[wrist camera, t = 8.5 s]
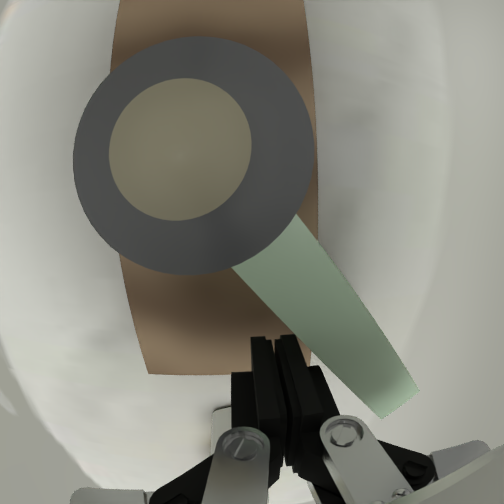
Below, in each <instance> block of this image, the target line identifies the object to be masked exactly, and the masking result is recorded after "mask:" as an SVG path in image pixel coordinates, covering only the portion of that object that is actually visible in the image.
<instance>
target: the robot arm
mask: <svg viewBox="0 0 504 504" xmlns="http://www.w3.org/2000/svg"><path fill="white" fill-rule="evenodd" d="M250 343H251V371H246V372H231V429H230V430H228V431H226V432H224V433H223V434H222V435H221V436H220V437H219V439H218V441H217V443H216V448H215V452H214V454H212V455H211V456H209V457H208V458H206V459H205V460H204V461H202V462H201V463H199V464H198V465H196V466H195V467H193V468H192V469H190V470H188V471H187V472H185V473H184V474H182V475H181V476H179V477H177V478H176V479H174V480H172V481H171V482H169V483H167V484H166V485H164V486H162V487H161V488H159V489H158V490H156V491H155V492H145V491H144V490H120V489H100V488H89V487H88V488H80V489H78V490H76V491H75V492H74V493H73V494H72V496H71V499H70V504H267V499H268V488H270V487H271V486H272V485H273V484H274V483H275V482H276V481H277V480H278V479H279V475H280V467H282V466H283V458H284V457H285V463H286V466H292V469H293V473H298V476H299V477H301V478H303V479H305V480H307V484H308V487H309V489H310V491H311V493H312V496H313V498H314V500H315V502H316V504H504V444H503V445H501V446H499V447H497V448H495V449H493V450H490V448H489V447H488V445H487V444H486V443H484V442H483V441H479V440H476V441H471V442H468V443H464V444H461V445H458V446H454V447H451V448H447V449H443V450H439V451H435V452H432V453H431V454H430V455H427V456H426V455H424V454H422V453H418V452H415V451H411V450H408V449H405V448H401V447H398V446H395V445H392V444H389V443H386V442H383V441H380V440H377V439H376V438H375V436H374V435H373V434H372V432H371V431H370V429H369V428H368V427H367V425H366V424H365V423H364V422H363V421H362V420H360V419H359V418H357V417H354V416H350V415H340V413H339V411H338V408H337V406H336V404H335V401H334V399H333V396H332V394H331V391H330V389H329V387H328V384H327V382H326V380H325V377H324V375H323V372H322V370H321V368H320V366H318V365H316V366H308V367H307V364H306V362H305V359H304V356H303V353H302V351H301V348H300V345H299V342H298V340H297V337H296V335H295V334H287V335H280V339H275V342H274V350H273V345H272V341H271V339H270V340H266V337H265V336H257V337H250Z"/></svg>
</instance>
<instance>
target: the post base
mask: <svg viewBox="0 0 504 504" xmlns="http://www.w3.org/2000/svg"><path fill="white" fill-rule="evenodd" d="M194 36H204V37H216V38H222V39H227V40H231V41H234V42H237V43H240V44H243V45H246V46H248V47H250V48H252V49H254V50H256V51H258V52H259V53H261V54H262V55H264V56H265V57H267V58H268V59H270V60H271V61H272V62H274V63H275V64H276V65H277V66H278V67H279V68H280V69H281V70H282V71H283V72H284V73H285V74H286V75H287V76H288V78H289V79H290V80H291V81H292V82H293V84H294V85H295V87H296V88H297V90H298V92H299V93H300V95H301V97H302V99H303V101H304V103H305V106H306V108H307V110H308V113H309V117H310V120H311V124H312V128H313V137H314V164H313V170H312V176H311V180H310V183H309V186H308V190H307V193H306V195H305V197H304V200H303V202H302V204H301V206H300V208H299V210H298V211H297V213H296V214H297V216H298V217H299V218H300V219H301V221H302V222H303V223H304V224H305V226H306V227H307V228H308V230H309V231H310V232H311V233H312V235H313V236H314V237H315V239H316V240H317V241H318V168H317V138H316V118H315V102H314V88H313V76H312V66H311V56H310V47H309V38H308V30H307V23H306V15H305V9H304V2H303V0H120V4H119V9H118V15H117V20H116V27H115V33H114V41H113V49H112V58H111V69H110V73H111V72H112V71H113V70H114V69H116V68H117V67H118V66H119V65H120V64H122V63H123V62H124V61H125V60H127V59H128V58H130V57H132V56H133V55H135V54H136V53H138V52H140V51H142V50H144V49H146V48H148V47H150V46H153V45H155V44H158V43H161V42H164V41H167V40H172V39H177V38H182V37H194ZM119 256H120V262H121V267H122V273H123V278H124V283H125V288H126V292H127V297H128V301H129V306H130V310H131V314H132V318H133V322H134V326H135V330H136V333H137V337H138V341H139V344H140V348H141V351H142V355H143V358H144V361H145V364H146V368H147V371H148V374H162V375H228V374H231V372H246V371H251V343H250V337H257V336H265V337H266V340H270V339H271V341H272V345H273V350H274V342H275V339H280V335H287V334H294V333H293V332H292V331H291V330H290V329H289V327H288V326H287V325H286V324H285V323H284V322H283V321H282V320H281V319H280V318H279V317H278V316H277V315H276V314H275V313H274V312H273V311H272V310H271V309H270V308H269V307H268V306H267V305H266V304H265V303H264V302H263V300H262V299H261V298H260V297H259V296H258V295H257V294H256V293H255V292H254V291H253V290H252V289H251V288H250V287H249V286H248V285H247V284H246V283H245V281H244V280H243V279H242V278H241V277H240V276H239V275H238V274H237V273H236V272H235V271H234V270H233V269H232V268H228V269H225V270H222V271H218V272H214V273H209V274H201V275H174V274H167V273H162V272H158V271H154V270H151V269H148V268H145V267H143V266H141V265H138V264H136V263H134V262H132V261H131V260H129V259H127V258H126V257H124V256H122V255H121V254H120V253H119ZM296 337H297V336H296ZM297 340H298V342H299V345H300V348H301V351H302V353H303V356H304V359H305V362H306V364H307V367H308V366H310V359H311V350H310V349H309V348H308V347H307V346H306V345H305V344H304V343H303V342H302V341H301V340H300V339H299V338H298V337H297Z"/></svg>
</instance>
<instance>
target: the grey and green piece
mask: <svg viewBox="0 0 504 504" xmlns="http://www.w3.org/2000/svg"><path fill="white" fill-rule="evenodd" d="M313 164H314V137H313V128H312V124H311V120H310V117H309V113H308V110H307V108H306V106H305V103H304V101H303V99H302V97H301V95H300V93H299V92H298V90H297V88H296V87H295V85H294V84H293V82H292V81H291V80H290V79H289V78H288V76H287V75H286V74H285V73H284V72H283V71H282V70H281V69H280V68H279V67H278V66H277V65H276V64H275V63H274V62H272V61H271V60H270V59H268V58H267V57H265V56H264V55H262V54H261V53H259V52H258V51H256V50H254V49H252V48H250V47H248V46H246V45H243V44H240V43H237V42H234V41H231V40H227V39H222V38H216V37H204V36H194V37H182V38H177V39H172V40H167V41H164V42H161V43H158V44H155V45H153V46H150V47H148V48H146V49H144V50H142V51H140V52H138V53H136V54H135V55H133V56H132V57H130V58H128V59H127V60H125V61H124V62H123V63H122V64H120V65H119V66H118V67H117V68H116V69H114V70H113V71H112V72H111V73H110V74H109V75H108V76H107V77H106V79H105V80H104V81H103V82H102V83H101V84H100V86H99V87H98V88H97V90H96V91H95V93H94V94H93V95H92V97H91V99H90V101H89V102H88V104H87V106H86V108H85V110H84V112H83V115H82V117H81V120H80V123H79V126H78V129H77V133H76V137H75V143H74V151H73V171H74V179H75V185H76V189H77V193H78V197H79V200H80V202H81V205H82V207H83V210H84V212H85V214H86V215H87V217H88V219H89V221H90V223H91V224H92V226H93V227H94V228H95V230H96V231H97V232H98V234H99V235H100V236H101V237H102V238H103V239H104V240H105V241H106V242H107V243H108V244H109V245H110V246H111V247H112V248H113V249H114V250H116V251H117V252H118V253H120V254H121V255H122V256H124V257H126V258H127V259H129V260H131V261H132V262H134V263H136V264H138V265H141V266H143V267H145V268H148V269H151V270H154V271H158V272H162V273H167V274H174V275H201V274H209V273H214V272H218V271H222V270H225V269H228V268H232V269H233V270H234V271H235V272H236V273H237V274H238V275H239V276H240V277H241V278H242V279H243V280H244V281H245V283H246V284H247V285H248V286H249V287H250V288H251V289H252V290H253V291H254V292H255V293H256V294H257V295H258V296H259V297H260V298H261V299H262V300H263V302H264V303H265V304H266V305H267V306H268V307H269V308H270V309H271V310H272V311H273V312H274V313H275V314H276V315H277V316H278V317H279V318H280V319H281V320H282V321H283V322H284V323H285V324H286V325H287V326H288V327H289V329H290V330H291V331H292V332H293V333H294V334H295V335H296V336H297V337H298V338H299V339H300V340H301V341H302V342H303V343H304V344H305V345H306V346H307V347H308V348H309V349H310V350H311V351H312V352H313V353H314V354H315V355H316V356H317V357H318V358H319V359H320V360H321V361H322V362H323V363H324V364H325V365H326V366H327V367H328V368H329V369H330V370H331V371H332V372H333V373H334V374H335V375H336V376H337V377H338V378H339V379H340V380H341V381H342V382H343V383H344V384H345V385H346V386H347V387H348V388H349V389H350V390H351V391H352V392H353V393H354V394H355V395H356V396H357V397H358V398H359V399H361V400H362V401H363V402H364V403H365V404H366V405H367V406H368V407H369V408H370V409H371V410H372V411H373V412H374V413H375V414H376V415H377V416H378V417H379V418H380V419H383V418H384V417H386V416H387V415H389V414H390V413H392V412H393V411H394V410H396V409H397V408H399V407H400V406H401V405H403V404H404V403H405V402H407V401H408V400H409V399H411V398H412V397H413V396H414V395H416V394H417V393H418V392H419V391H420V390H419V389H418V387H417V385H416V384H415V382H414V380H413V379H412V377H411V376H410V374H409V372H408V371H407V369H406V367H405V366H404V364H403V363H402V361H401V359H400V358H399V356H398V355H397V353H396V352H395V350H394V349H393V347H392V345H391V344H390V342H389V341H388V339H387V338H386V336H385V335H384V333H383V332H382V330H381V329H380V327H379V326H378V324H377V323H376V321H375V320H374V318H373V317H372V316H371V314H370V313H369V311H368V310H367V308H366V307H365V305H364V304H363V303H362V301H361V300H360V298H359V297H358V295H357V294H356V293H355V291H354V290H353V288H352V287H351V286H350V284H349V283H348V281H347V280H346V279H345V277H344V276H343V275H342V273H341V272H340V270H339V269H338V268H337V266H336V265H335V264H334V262H333V261H332V260H331V258H330V257H329V256H328V254H327V253H326V252H325V250H324V249H323V248H322V246H321V245H320V244H319V242H318V241H317V240H316V239H315V237H314V236H313V235H312V233H311V232H310V231H309V230H308V228H307V227H306V226H305V224H304V223H303V222H302V221H301V219H300V218H299V217H298V216H297V214H296V213H297V211H298V210H299V208H300V206H301V204H302V202H303V200H304V197H305V195H306V193H307V190H308V186H309V183H310V180H311V176H312V170H313Z"/></svg>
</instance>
